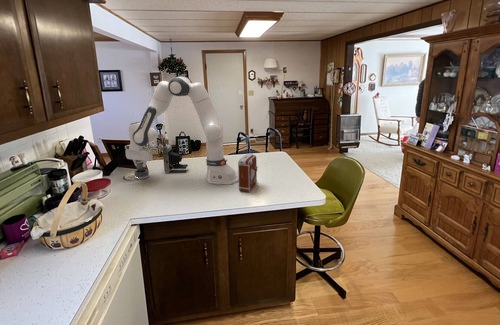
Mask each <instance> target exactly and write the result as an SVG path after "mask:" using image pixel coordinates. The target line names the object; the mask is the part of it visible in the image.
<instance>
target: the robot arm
mask: <svg viewBox="0 0 500 325" xmlns="http://www.w3.org/2000/svg"><path fill="white" fill-rule="evenodd" d="M174 96H176V97H186V96H188V97H189V98H190V100H191V103H192V104H193V107H194V109H195V111H196V113H197V116H198V119H199V122H200V124H201V127H202V130H203V132H204V135H205V141H206V144H205V146H206V150H205V151H206V160H205V161H206V162H205V163H206V175H205V180H206V182H207V183H208V184H211V185H212V184H215V185H217V184H218V185H230V186H231V185H233V184H235V183H237V182H239V176H238V175H237V173H236V171H235V169H234V168H233V167H231V166H230V165H229V164H228V163H227V162H228V159H226V158H225V153H224V152H225V151H224V129H223V128H224V126H223V124H222V122H221V121H220V120H219V117H218V115H217V112H216V109H215V107H214V104H213V102H212V98H211V97H210V95H209V93H208V91H207V89H206V87H205V86H204V85H203V82H199V81H197V82H193V81H192V80H191V78H189V77H187V76H176V77H174V78H172V79H170V80H169V81H167V80H161V81H159V82H158V84H157V85H156V87H155V90H154V92H153V95H152V97H151V99H150V102H149V105H148V106H147V108H146V110H145V112H144V114H143V116H142V119H141V121H136V122H132V123H130V124H129V125H128V136H129V138H130V139H129V141H130V142H129V144H127V145H125V146H124V149H125V157H126V159H127V160H132V162H133V163H134V166H135V167H137V165H136V162H138V161H143V162H144V163H143V164H142V166H143V167H145V168H146V167H147V162H152V161H153V160H154V159H153V158H154V157H153V152H152V149H151V148H149V147H147V146H146V145H148V144H150V143H152V142H154V141H156V140H157V138H158V135H159V134H158V131H157V130H156V128H155V127H152V126H153V123H154V121H155V120H156V119H157V118H158V117H160V116H161V115H163V114H164V113H165V112H166V111H167V110H168V108H169V107H170V105H171V102H172V99H173V98H174Z"/></svg>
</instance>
